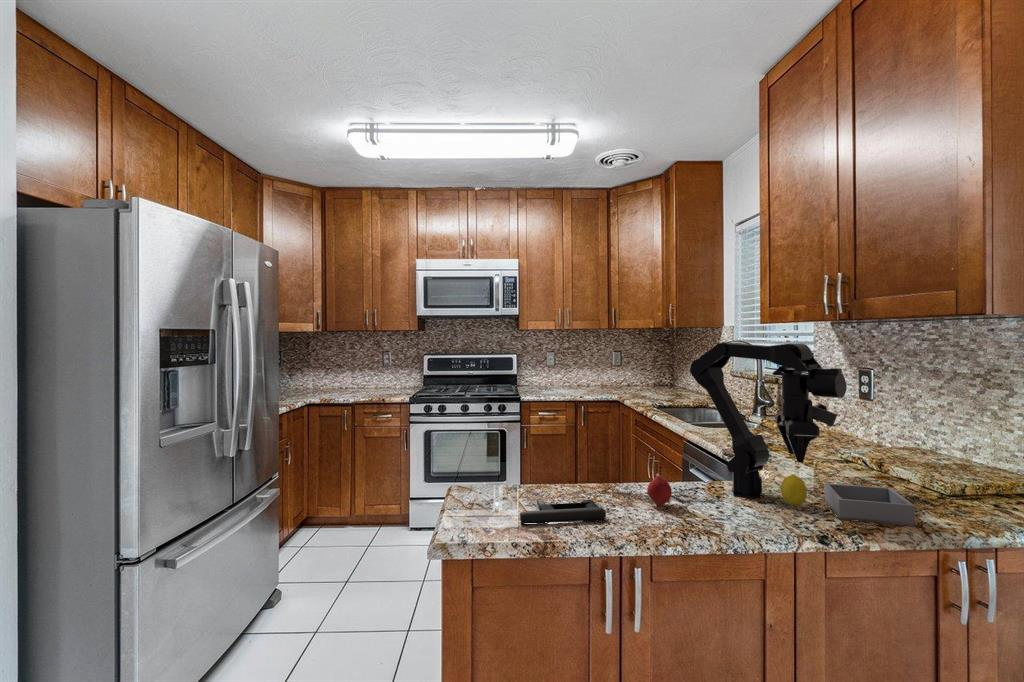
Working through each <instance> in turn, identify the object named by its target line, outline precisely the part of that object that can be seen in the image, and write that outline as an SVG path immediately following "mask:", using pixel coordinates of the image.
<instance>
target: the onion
mask: <svg viewBox="0 0 1024 682" xmlns="http://www.w3.org/2000/svg"><path fill="white" fill-rule="evenodd" d="M655 476H656V477H655V478H653V479H651V480H650V482H649V483H648V485H647V490H646V493H647V496H648V497H649V499H650V500H651V501H652V502H653V503H654V504H655V505H656V506H657V505H658V506H657V507H662V506H663V505H665V504H667V502H669V501H670V500H671V498H672V493H673V491H672V487H671V485H670V483H669V482H668V480H666V479H665V478H663V477H662V475H660V474H659V473H656V475H655Z"/></svg>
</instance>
